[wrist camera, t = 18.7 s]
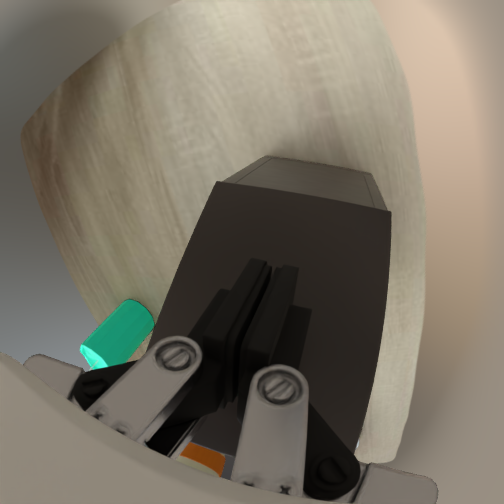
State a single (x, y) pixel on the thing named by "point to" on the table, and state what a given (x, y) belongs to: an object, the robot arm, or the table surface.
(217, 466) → the reusable coffee cup
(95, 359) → the candle
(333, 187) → the box
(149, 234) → the table surface
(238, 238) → the lid
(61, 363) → the robot arm
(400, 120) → the table surface
